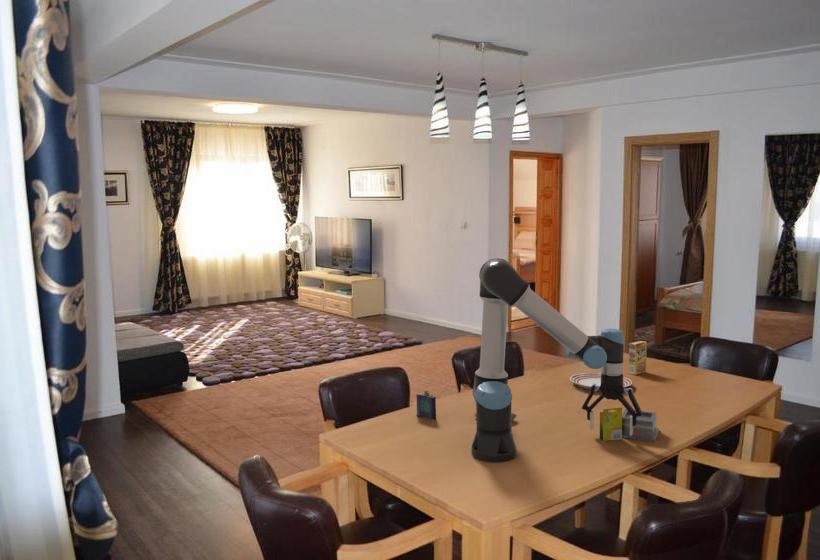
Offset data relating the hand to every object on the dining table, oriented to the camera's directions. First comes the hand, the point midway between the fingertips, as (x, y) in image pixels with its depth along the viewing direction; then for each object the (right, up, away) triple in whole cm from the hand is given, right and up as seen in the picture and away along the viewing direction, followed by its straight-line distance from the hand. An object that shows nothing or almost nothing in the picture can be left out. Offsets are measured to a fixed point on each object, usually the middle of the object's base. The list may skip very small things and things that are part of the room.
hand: (611, 431), depth 229 cm
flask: (-65, -1, +28) cm, 70 cm away
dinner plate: (+16, +5, +67) cm, 69 cm away
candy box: (+40, +8, +88) cm, 97 cm away
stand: (+12, -2, +6) cm, 13 cm away
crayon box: (0, -3, 0) cm, 3 cm away
